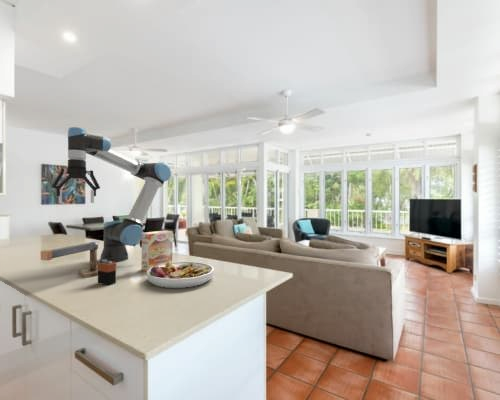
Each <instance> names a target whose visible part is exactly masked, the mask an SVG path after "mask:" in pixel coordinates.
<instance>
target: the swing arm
mask: <svg viewBox="0 0 500 400" xmlns="http://www.w3.org/2000/svg"><path fill="white" fill-rule="evenodd" d="M93 249H97V250H98V249H99V241H91V242H85V243H81V244H76V245H71V246H64V247H60V248H54V249H46V250H45V249H44V250H41V251H40V260H41V261H51V260H53V259H56V258H60V257H61V258H62V257H65V256H69V255H75V254H79V253H82V252H83V253H84V252H88V251H90V250H93Z"/></svg>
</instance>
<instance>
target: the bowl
mask: <svg viewBox="0 0 500 400" xmlns="http://www.w3.org/2000/svg"><path fill="white" fill-rule="evenodd" d="M214 272H215V270H214V266H213V265H210V264H207V263H204V262H196V261H178V262H177V261H175V262H172V263H166V264H161V265H157V266H154V267H152V268H150V269H149V270H148V271H146V277H147V279H148V281H149V282H150V283H151V284H152V285H154V286H156V287H159V288H164V287H165V288H166V289H186V287H188V288H192V287H193V286H194V287H197V285H198V286H200V285H201V286H202V285H203V284H205V283H207V282H208V281H209V280H211V279H212V278H213V275H214Z"/></svg>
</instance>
